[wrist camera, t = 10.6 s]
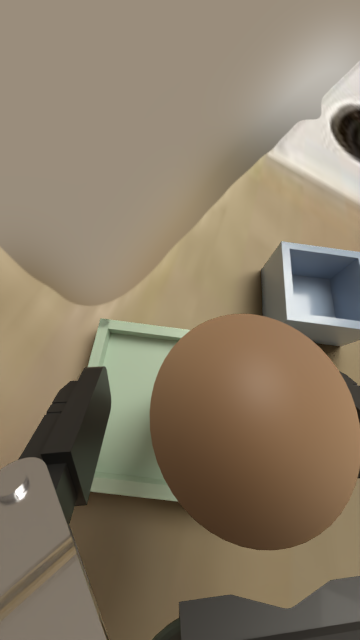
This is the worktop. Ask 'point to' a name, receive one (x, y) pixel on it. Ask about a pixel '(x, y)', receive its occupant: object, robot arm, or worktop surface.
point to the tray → (131, 406)
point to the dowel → (255, 431)
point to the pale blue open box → (314, 291)
